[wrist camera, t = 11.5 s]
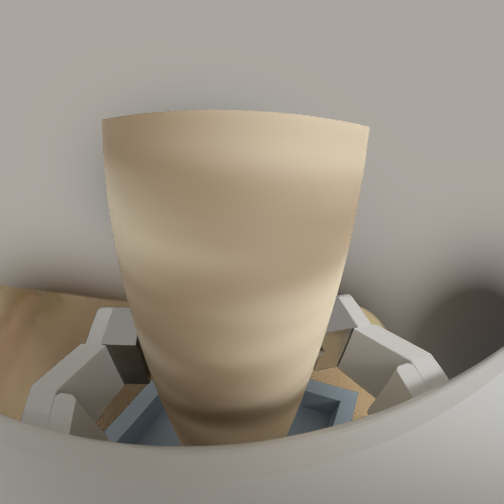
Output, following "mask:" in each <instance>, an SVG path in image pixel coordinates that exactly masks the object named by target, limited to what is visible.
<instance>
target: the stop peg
mask: <svg viewBox="0 0 504 504" xmlns="http://www.w3.org/2000/svg"><path fill="white" fill-rule="evenodd" d="M102 133H103V154H104V167H105V179H106V188H107V196H108V204H109V212H110V218H111V225H112V231H113V237H114V242H115V248H116V253H117V258H118V263H119V267H120V272H121V276H122V281H123V285H124V289H125V293H126V297H127V301H128V305H129V308H130V312H131V316H132V319H133V323H134V326H135V329H136V333H137V336H138V339H139V342H140V345H141V348H142V351H143V354H144V357H145V360H146V363H147V366H148V368H149V371H150V374H151V377H152V379H153V382H154V384H155V387H156V390H157V392H158V395H159V397H160V399H161V402H162V404H163V407H164V409H165V411H166V414H167V416H168V418H169V420H170V423H171V425H172V427H173V429H174V431H175V433H176V435H177V437H178V440H179V442H180V444H181V446H211V445H226V444H238V443H247V442H255V441H263V440H269V439H276V438H282V437H286V436H287V434H288V432H289V429H290V427H291V425H292V422H293V420H294V418H295V415H296V413H297V410H298V408H299V405H300V403H301V400H302V398H303V395H304V393H305V390H306V387H307V385H308V382H309V379H310V377H311V374H312V371H313V368H314V365H315V363H316V360H317V357H318V354H319V351H320V348H321V345H322V342H323V339H324V336H325V333H326V329H327V326H328V323H329V320H330V316H331V313H332V310H333V306H334V303H335V299H336V296H337V292H338V288H339V285H340V281H341V277H342V273H343V269H344V265H345V261H346V257H347V253H348V249H349V244H350V240H351V236H352V231H353V226H354V221H355V216H356V211H357V206H358V201H359V196H360V190H361V184H362V178H363V172H364V166H365V158H366V151H367V144H368V136H369V127H368V126H364V125H358V124H354V123H350V122H344V121H339V120H333V119H327V118H320V117H314V116H306V115H298V114H288V113H278V112H265V111H247V110H184V111H167V112H154V113H144V114H135V115H127V116H120V117H114V118H108V119H103V120H102Z"/></svg>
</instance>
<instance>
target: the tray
mask: <svg viewBox="0 0 504 504" xmlns="http://www.w3.org/2000/svg"><path fill="white" fill-rule="evenodd" d="M357 395H358V392H355V391H351V390H347V389H343V388H339V387H336V386H332V385H328V384H325V383H321V382H318V381H315V380H311V379H309V382H308V385H307V387H306V390H305V393H304V395H303V398H302V400H301V403H300V405H299V408H298V410H297V413H296V415H295V418H294V420H293V422H292V425H291V427H290V429H289V432H288V434H287V436H292V435H297V434H302V433H307V432H311V431H315V430H320V429H324V428H328V427H331V426H335V425H339V424H342V423H346V422H349V421H352V417H353V413H354V409H355V404H356V400H357ZM104 433H105V434H106V435H107V437H108V441H109V442H117V443H126V444H137V445H152V446H181V444H180V442H179V440H178V437H177V435H176V433H175V431H174V429H173V427H172V425H171V423H170V420H169V418H168V416H167V414H166V411H165V409H164V407H163V404H162V402H161V399H160V397H159V395H158V392H157V390H156V387H155V384H154V382H153V379H152V380H151V381H150V384H147V386H146V387H145V388H144V389H143V390H142V391H141V392H140V393H139V394H138V395H137V396H136V398H135V399H134V400H133V401H132V402H131V403H130V404H129V405H128V406H127V407H126V408H125V410H124V411H123V412H122V413H121V414H120V415H119V416H118V417H117V418H116V419H115V420H114V421H113V423H112V424H111V425H110V426H109V427H108V428H107V429H106V430H105V431H104ZM287 436H286V437H287Z"/></svg>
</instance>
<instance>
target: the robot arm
mask: <svg viewBox="0 0 504 504" xmlns="http://www.w3.org/2000/svg"><path fill="white" fill-rule="evenodd" d="M334 367H338V369H339V370H341V371H342V372H343V373H344V374H346V375H347V376H348V377H349V378H351V379H352V380H353V381H354V382H356V383H357V384H358V385H359V386H361V387H362V388H363V389H365V390H366V391H367V392H368V393H370V394H371V395H372V396H373V397H375V398H376V399H375V401H374V402H373V403H372V405H371V406H370V407H369V409H368V411H367V413H368V416H365V417H362V418H359V419H355V420H352V421H349V422H346V423H342V424H339V425H335V426H331V427H328V428H324V429H320V430H315V431H311V432H307V433H302V434H297V435H292V436H287V437H282V438H276V439H269V440H263V441H255V442H247V443H238V444H226V445H211V446H152V445H137V444H126V443H117V442H109V441H108V437H107V435H106V434H105V433H104V432H103V431H102V430H101V429H100V427H99V426H98V425H97V424H96V422H97V420H98V419H99V418H100V416H101V415H102V414H103V412H104V411H105V410H106V409H107V407H108V406H109V405H110V403H111V402H112V401H113V399H114V398H115V397H116V395H117V394H118V393H119V392H120V390H121V389H122V388H123V386H124V384H150V377H151V374H150V371H149V368H148V366H147V363H146V360H145V357H144V354H143V351H142V348H141V345H140V342H139V339H138V336H137V333H136V329H135V326H134V323H133V319H132V316H131V312H130V308H123V307H115V308H113V307H100V308H99V309H98V310H97V313H96V315H95V318H94V321H93V323H92V326H91V329H90V332H89V334H88V337H87V340H86V343H85V344H80V345H79V346H78V347H77V348H75V349H74V350H73V351H72V352H71V353H69V354H68V355H67V356H66V357H65V358H63V359H62V360H61V361H60V362H59V363H57V364H56V365H55V366H54V367H53V368H52V369H50V370H49V371H48V372H47V373H46V374H45V375H43V376H42V377H41V378H40V379H39V380H38V381H36V382H35V383H34V384H33V385H32V386H31V389H30V392H29V395H28V398H27V401H26V405H25V408H24V411H23V415H22V418H21V421H19V420H16V419H14V418H11V417H8V416H5V415H3V414H0V504H504V347H503V348H501V349H500V350H498V351H497V352H495V353H494V354H492V355H491V356H489V357H488V358H486V359H485V360H483V361H482V362H480V363H479V364H477V365H475V366H474V367H472V368H471V369H469V370H467V371H465V372H464V373H462V374H460V375H458V376H457V377H455V378H453V379H451V380H449V379H448V378H447V376H446V375H445V373H444V372H443V370H442V369H441V367H440V366H439V365H438V363H437V362H436V360H435V359H434V358H433V356H432V355H431V354H430V353H428V352H426V351H425V350H423V349H421V348H419V347H417V346H415V345H413V344H411V343H409V342H408V341H406V340H403V339H402V338H400V337H398V336H396V335H395V334H393V333H391V332H389V331H387V330H385V329H383V328H381V327H380V326H378V325H376V324H374V325H371V323H370V322H369V320H368V319H367V317H366V316H365V315H364V313H363V312H362V310H361V309H360V307H359V306H358V305H357V303H356V302H355V300H354V299H353V298H352V296H351V295H349V294H346V295H339V296H336V299H335V303H334V306H333V310H332V313H331V316H330V320H329V323H328V326H327V329H326V333H325V336H324V339H323V342H322V345H321V348H320V351H319V354H318V357H317V360H316V363H315V365H314V368H313V369H314V371H316V370H322V369H328V368H334Z"/></svg>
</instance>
